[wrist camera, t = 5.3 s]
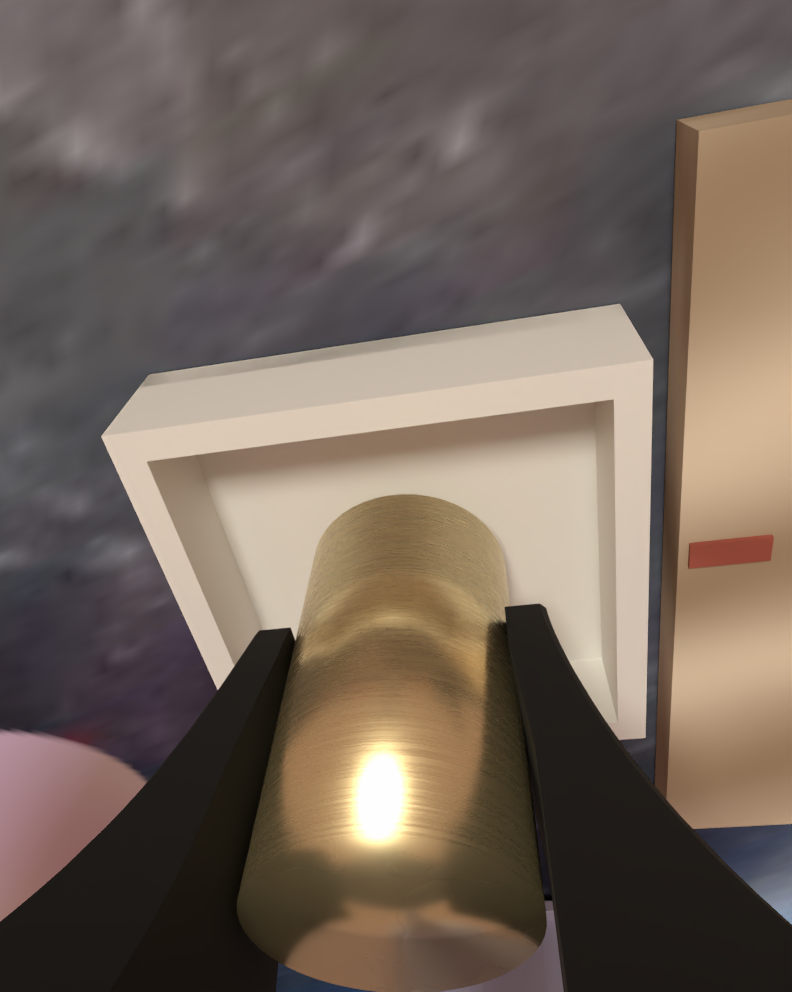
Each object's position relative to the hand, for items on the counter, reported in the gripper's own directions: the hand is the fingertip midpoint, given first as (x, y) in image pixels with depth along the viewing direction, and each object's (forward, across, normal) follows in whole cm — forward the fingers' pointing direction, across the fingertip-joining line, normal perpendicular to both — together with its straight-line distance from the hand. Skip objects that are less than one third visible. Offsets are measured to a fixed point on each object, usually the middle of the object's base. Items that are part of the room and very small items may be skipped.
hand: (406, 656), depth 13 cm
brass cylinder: (+2, 0, 0) cm, 2 cm away
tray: (+4, 0, 0) cm, 4 cm away
